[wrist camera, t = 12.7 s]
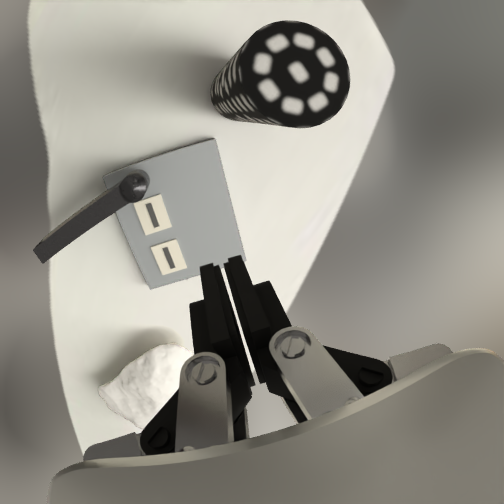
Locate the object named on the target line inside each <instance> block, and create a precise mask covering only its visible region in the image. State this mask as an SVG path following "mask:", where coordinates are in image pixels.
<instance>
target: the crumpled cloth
mask: <svg viewBox="0 0 504 504" xmlns="http://www.w3.org/2000/svg"><path fill="white" fill-rule="evenodd" d="M191 356H193V354H192V352H191V351H190V350H188V349H186V348H184V347H182V346H180V345H178V344H177V343H169V344H163V345H159V346H157V347H155V348H153V349H151V350H149V351H147V352H146V353H144V354H143V355H142V356H140V357H139V358H137V359H136V360H134V361H132V362H130V363H129V364H128V365H126V367H124V369H123V370H122V371H121V373H120V374H119V375H118V376H117V377H115V378H114V380H113V381H111V382H107V383H106V384H104V385H100V386H99V387H98V392H99V395H100V396H101V397H102V398H103V399H104V401H105V402H106V404H107V406H108V408H109V409H111V410H112V411H114V412H115V413H117V414H120V415H122V416H123V417H124V418H125V419H127V420H129V421H130V422H132V423H133V424H134V425H135V426H136V427H138V428H141V429H144V428H145V426H146V425H147V424H148V423H149V422H150V421H151V420H152V419H153V417H154V416H155V415H156V414H157V413H158V412H159V411H160V409H161V408H162V407H163V406H164V405H165V404H166V403H167V401H168V400H169V399H170V398H171V397H172V396H173V394H174V393H175V392H176V391H177V390H178V389H179V381H180V372H181V368H182V366H183V364H184V363H185V361H186V360H188V359H189V358H190V357H191Z"/></svg>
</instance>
